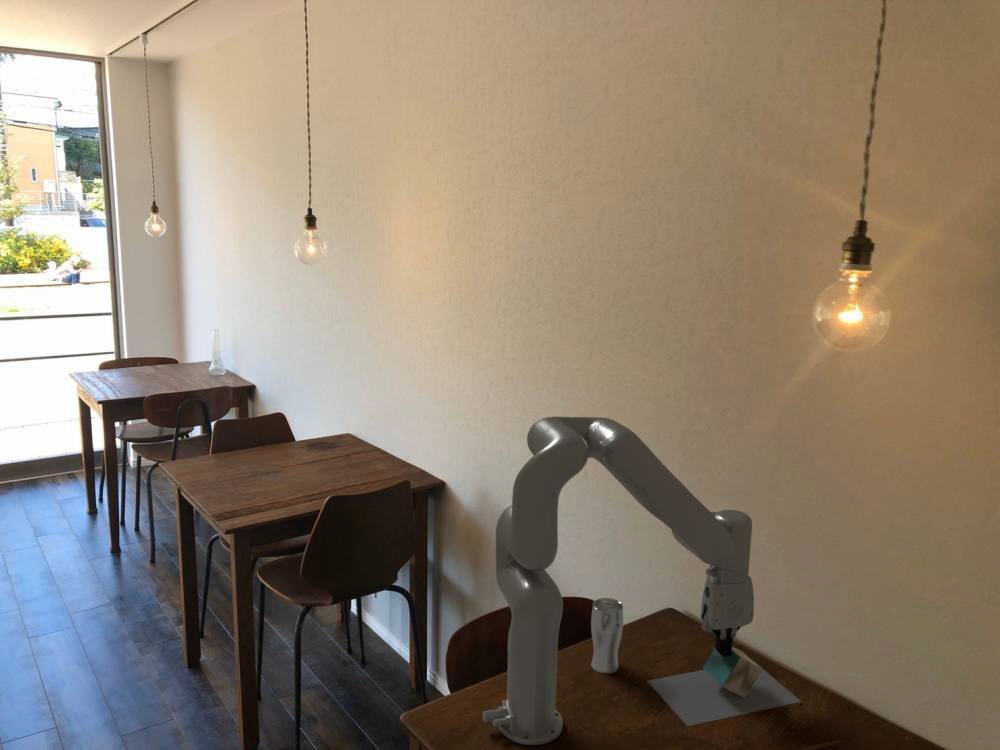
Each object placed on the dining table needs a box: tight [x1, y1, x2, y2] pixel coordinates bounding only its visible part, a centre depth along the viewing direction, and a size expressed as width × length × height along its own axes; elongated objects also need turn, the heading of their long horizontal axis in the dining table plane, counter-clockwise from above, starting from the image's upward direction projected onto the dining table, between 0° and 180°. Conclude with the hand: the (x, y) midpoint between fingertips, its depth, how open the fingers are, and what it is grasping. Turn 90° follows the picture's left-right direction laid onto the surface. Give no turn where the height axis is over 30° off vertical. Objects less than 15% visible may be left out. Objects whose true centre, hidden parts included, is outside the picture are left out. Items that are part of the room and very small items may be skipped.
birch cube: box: [702, 646, 763, 698], centre depth 163 cm, size 7×7×7 cm
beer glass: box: [590, 597, 624, 674], centre depth 170 cm, size 7×7×15 cm
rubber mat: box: [646, 660, 802, 727], centre depth 163 cm, size 27×16×1 cm, turn 109°
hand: (723, 653), depth 161 cm, fingers closed
